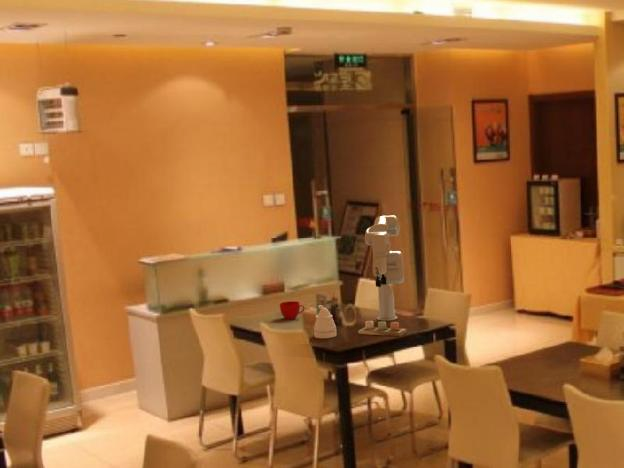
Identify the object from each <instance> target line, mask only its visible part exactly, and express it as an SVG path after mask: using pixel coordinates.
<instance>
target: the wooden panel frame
mask: <svg viewBox="0 0 624 468" xmlns="http://www.w3.org/2000/svg"><path fill="white" fill-rule="evenodd" d="M407 331H408V330H407V328H399V330H397V331H392V330H391V327H386V330H378V326H377V327H376V326H374V329H366V326H364V327H362V328H360V329H359V330H358V332H357V333H358V335H373V336H374V335H375V336H389V335H390V336H391V337H394V336H395V337H401V336H403V335H404V334H406V333H407Z"/></svg>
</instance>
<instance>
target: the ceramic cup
mask: <svg viewBox="0 0 624 468" xmlns="http://www.w3.org/2000/svg"><path fill="white" fill-rule="evenodd" d="M300 303H301V302H300V301H296V300H295V301H284V302H280V303H279V309H280V312H281V313H280V314H281V315H282V316H283V318H284V319H285V320H294V319H296V318H297V316H299V314H301V313H303V312H304V311H305V306H304V305H303V304H301V305H300ZM301 307H302V310H301V311H300V308H301Z"/></svg>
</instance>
